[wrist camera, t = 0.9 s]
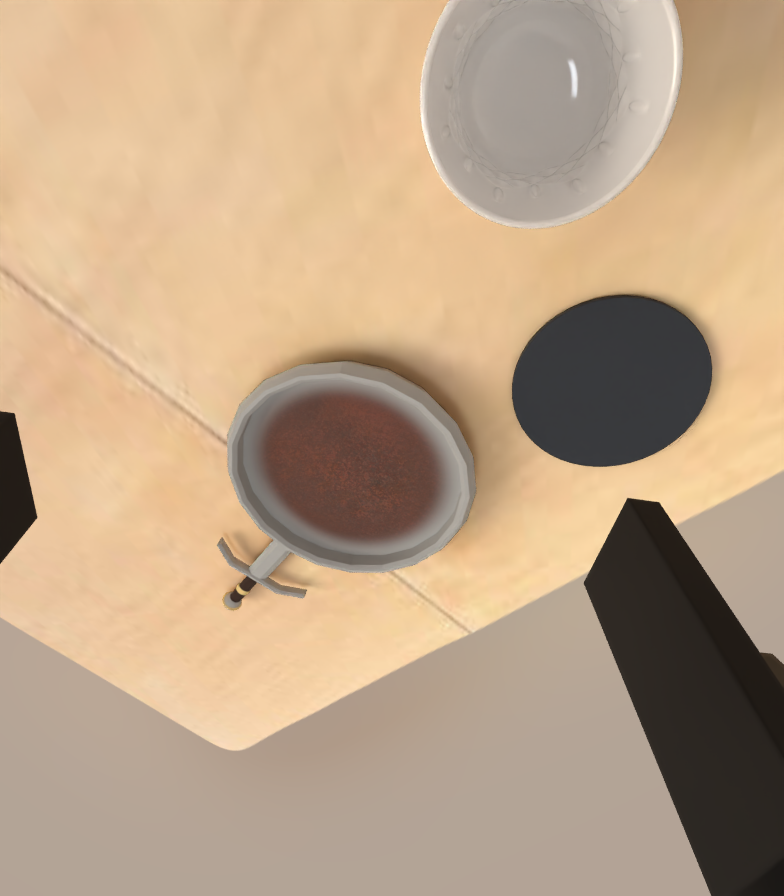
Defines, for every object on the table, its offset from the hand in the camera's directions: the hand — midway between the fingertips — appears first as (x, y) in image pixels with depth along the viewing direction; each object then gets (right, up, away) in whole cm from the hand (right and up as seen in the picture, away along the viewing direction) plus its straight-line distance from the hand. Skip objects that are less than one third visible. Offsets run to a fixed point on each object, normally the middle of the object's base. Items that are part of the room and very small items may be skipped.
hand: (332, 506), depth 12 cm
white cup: (+8, +18, +13) cm, 24 cm away
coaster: (+14, +5, +20) cm, 25 cm away
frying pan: (-4, -3, +29) cm, 30 cm away
